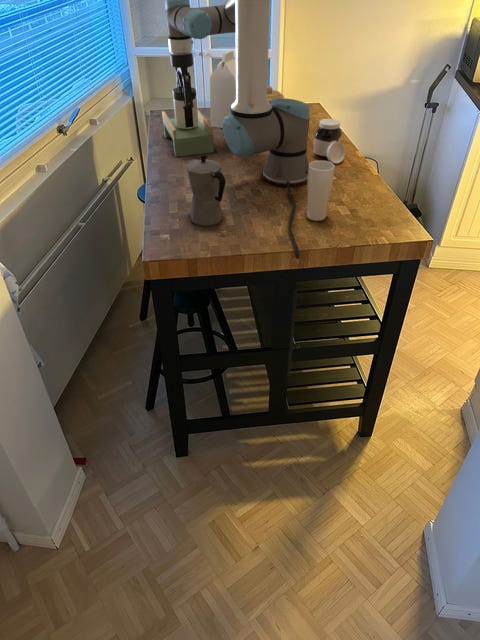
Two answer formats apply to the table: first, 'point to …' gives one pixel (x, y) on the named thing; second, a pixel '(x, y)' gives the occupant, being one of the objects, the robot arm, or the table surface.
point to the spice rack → (189, 136)
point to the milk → (222, 89)
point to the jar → (179, 109)
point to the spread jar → (329, 141)
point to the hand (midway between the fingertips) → (186, 122)
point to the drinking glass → (319, 189)
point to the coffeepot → (205, 191)
